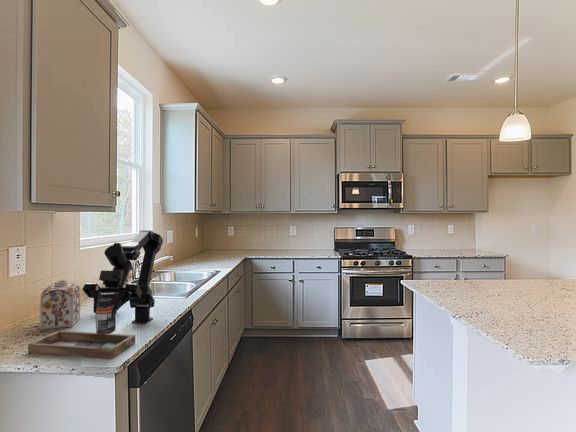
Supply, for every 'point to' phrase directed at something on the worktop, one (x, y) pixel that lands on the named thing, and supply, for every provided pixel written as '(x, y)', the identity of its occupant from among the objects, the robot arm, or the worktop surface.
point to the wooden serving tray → (83, 344)
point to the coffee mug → (111, 295)
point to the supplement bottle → (105, 317)
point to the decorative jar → (60, 305)
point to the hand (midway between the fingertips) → (103, 312)
